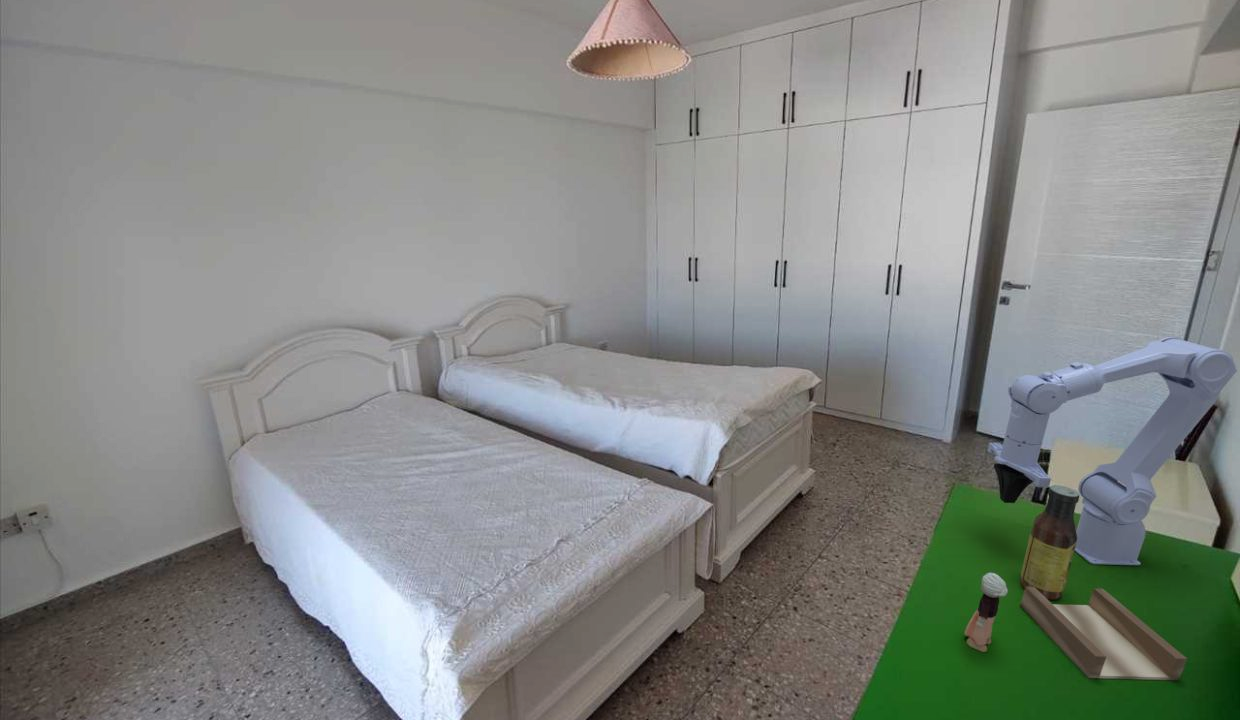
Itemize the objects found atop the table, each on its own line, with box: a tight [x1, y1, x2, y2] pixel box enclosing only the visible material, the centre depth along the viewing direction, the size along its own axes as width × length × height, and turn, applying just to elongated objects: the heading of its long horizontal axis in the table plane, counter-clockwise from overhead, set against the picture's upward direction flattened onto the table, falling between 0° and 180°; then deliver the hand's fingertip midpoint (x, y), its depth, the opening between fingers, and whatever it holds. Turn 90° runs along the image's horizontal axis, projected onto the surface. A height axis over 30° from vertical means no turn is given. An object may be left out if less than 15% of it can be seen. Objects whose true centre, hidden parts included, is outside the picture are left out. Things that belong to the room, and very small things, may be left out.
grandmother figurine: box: [964, 572, 1009, 653], centre depth 83 cm, size 8×4×13 cm, turn 141°
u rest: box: [1019, 587, 1188, 681], centre depth 85 cm, size 13×14×4 cm
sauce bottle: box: [1020, 484, 1080, 600], centre depth 94 cm, size 7×6×20 cm
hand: (1007, 501), depth 105 cm, fingers closed
